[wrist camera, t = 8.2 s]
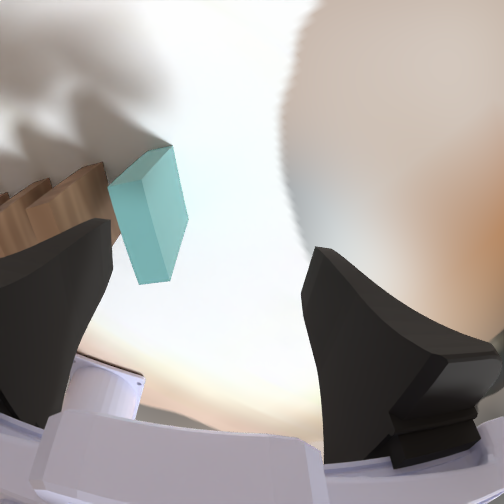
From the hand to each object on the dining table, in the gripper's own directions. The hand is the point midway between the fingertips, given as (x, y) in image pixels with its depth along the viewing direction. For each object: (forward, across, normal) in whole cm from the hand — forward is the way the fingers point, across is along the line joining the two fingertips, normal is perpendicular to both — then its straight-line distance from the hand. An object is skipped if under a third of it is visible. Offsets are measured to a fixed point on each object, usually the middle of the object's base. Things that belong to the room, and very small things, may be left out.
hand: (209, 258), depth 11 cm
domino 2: (+10, +8, +3) cm, 13 cm away
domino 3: (+10, +3, +1) cm, 10 cm away
